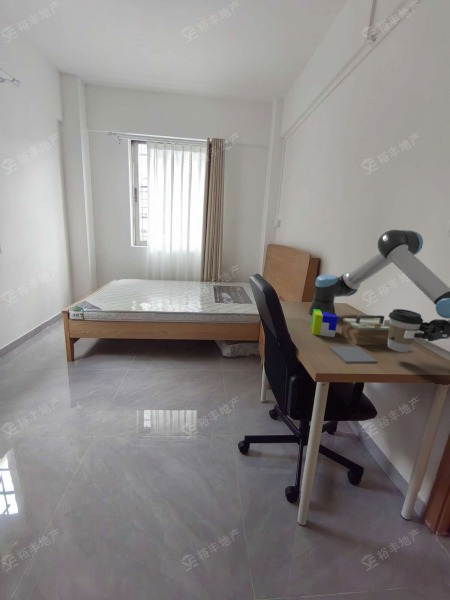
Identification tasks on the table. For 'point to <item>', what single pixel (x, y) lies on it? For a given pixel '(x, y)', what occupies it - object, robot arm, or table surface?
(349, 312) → the table surface
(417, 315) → the coffee cup
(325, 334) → the puzzle toy
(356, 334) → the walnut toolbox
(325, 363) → the table surface
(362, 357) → the slate mat
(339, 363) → the table surface
